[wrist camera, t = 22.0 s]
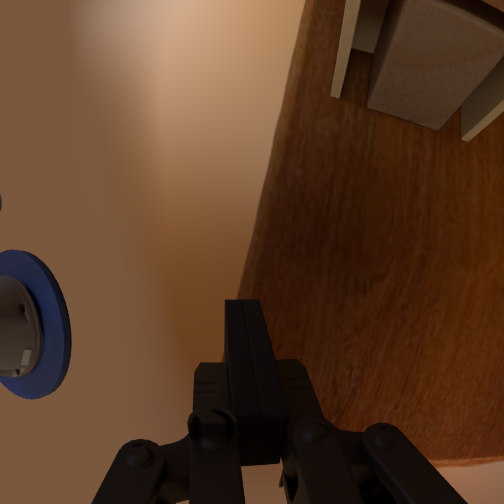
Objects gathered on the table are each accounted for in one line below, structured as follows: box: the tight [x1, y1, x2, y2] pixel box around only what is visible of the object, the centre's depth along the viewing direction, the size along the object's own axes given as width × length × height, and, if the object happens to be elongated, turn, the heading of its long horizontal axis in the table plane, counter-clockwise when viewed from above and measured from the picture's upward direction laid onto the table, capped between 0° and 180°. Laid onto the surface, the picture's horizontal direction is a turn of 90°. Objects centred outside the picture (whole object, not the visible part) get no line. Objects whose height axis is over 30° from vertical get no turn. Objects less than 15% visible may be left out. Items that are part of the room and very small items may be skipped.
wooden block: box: [367, 0, 504, 131], centre depth 25 cm, size 10×10×20 cm
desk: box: [330, 0, 504, 142], centre depth 23 cm, size 13×21×24 cm, turn 75°
